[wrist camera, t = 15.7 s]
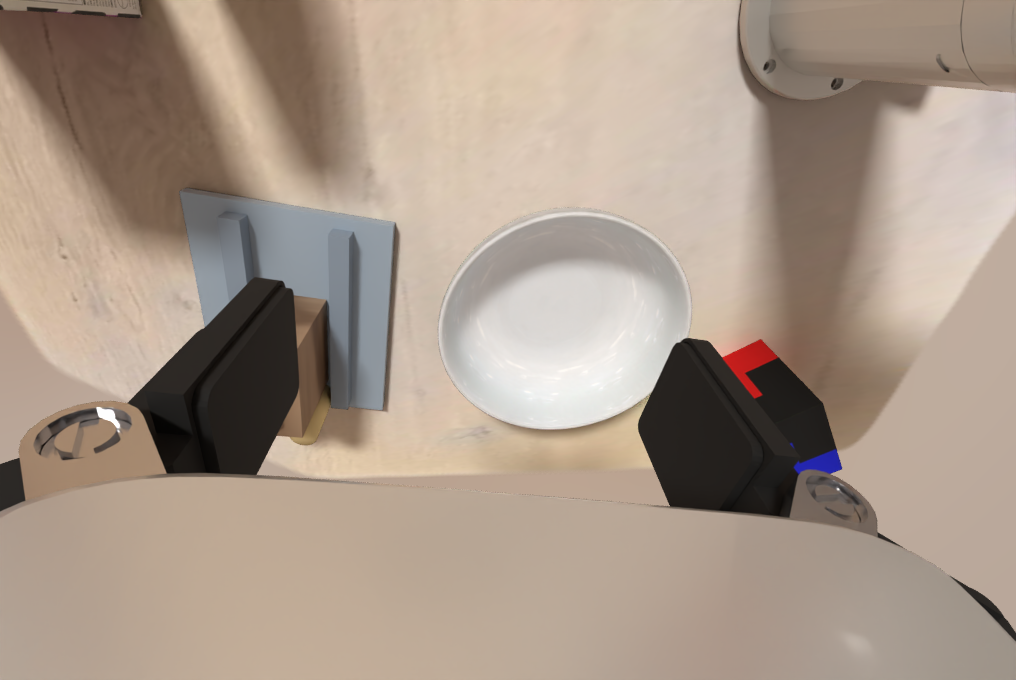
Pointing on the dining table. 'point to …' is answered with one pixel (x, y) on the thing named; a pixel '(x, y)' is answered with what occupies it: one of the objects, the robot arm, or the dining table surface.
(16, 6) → the candy bar box
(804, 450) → the puzzle toy
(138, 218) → the dining table surface
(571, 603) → the robot arm
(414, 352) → the dining table surface
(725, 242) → the dining table surface
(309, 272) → the slot board
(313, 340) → the panel block
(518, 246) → the serving bowl
